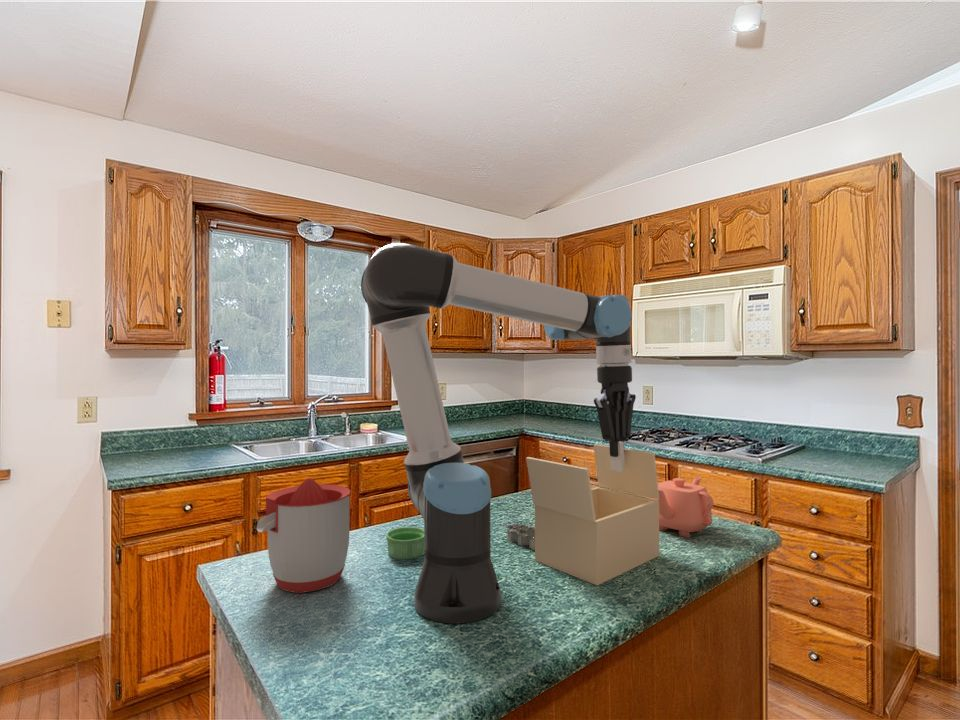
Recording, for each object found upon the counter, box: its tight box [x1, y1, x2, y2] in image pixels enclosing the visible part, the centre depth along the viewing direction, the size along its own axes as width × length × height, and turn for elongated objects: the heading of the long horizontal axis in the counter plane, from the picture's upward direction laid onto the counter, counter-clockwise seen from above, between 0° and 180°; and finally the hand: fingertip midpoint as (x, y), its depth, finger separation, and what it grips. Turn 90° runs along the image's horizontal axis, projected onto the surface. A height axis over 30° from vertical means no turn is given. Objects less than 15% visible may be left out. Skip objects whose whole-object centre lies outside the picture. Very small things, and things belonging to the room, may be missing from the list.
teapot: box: [648, 476, 714, 538], centre depth 129 cm, size 15×17×13 cm
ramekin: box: [385, 526, 425, 560], centre depth 114 cm, size 9×9×4 cm
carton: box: [534, 486, 660, 586], centre depth 110 cm, size 22×16×12 cm
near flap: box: [525, 456, 596, 522], centre depth 102 cm, size 10×16×1 cm
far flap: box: [593, 443, 659, 499], centre depth 117 cm, size 10×16×1 cm
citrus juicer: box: [256, 477, 351, 594], centre depth 99 cm, size 16×17×20 cm
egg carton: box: [504, 522, 535, 550], centre depth 121 cm, size 11×8×4 cm
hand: (617, 470), depth 115 cm, fingers closed
